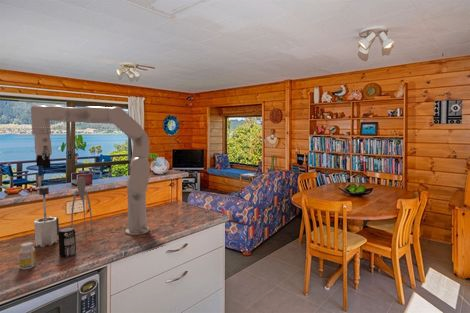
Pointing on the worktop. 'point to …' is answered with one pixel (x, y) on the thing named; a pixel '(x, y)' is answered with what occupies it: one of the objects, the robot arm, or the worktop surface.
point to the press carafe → (46, 231)
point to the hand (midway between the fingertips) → (43, 166)
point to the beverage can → (67, 242)
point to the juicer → (81, 193)
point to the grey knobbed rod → (43, 192)
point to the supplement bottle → (27, 256)
